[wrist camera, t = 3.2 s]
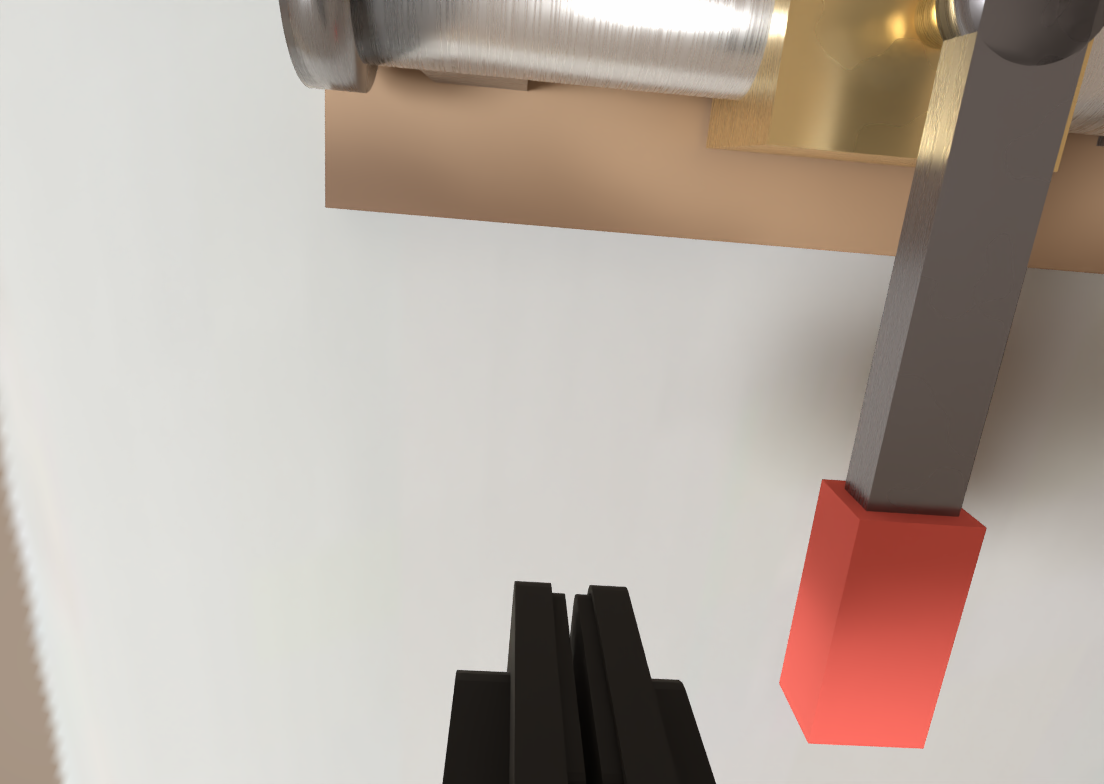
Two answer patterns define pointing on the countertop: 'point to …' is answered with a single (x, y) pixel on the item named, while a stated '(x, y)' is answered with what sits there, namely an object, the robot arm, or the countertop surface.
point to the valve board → (658, 118)
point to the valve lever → (933, 378)
